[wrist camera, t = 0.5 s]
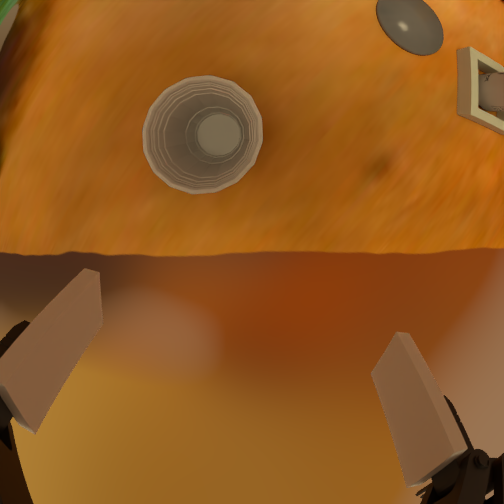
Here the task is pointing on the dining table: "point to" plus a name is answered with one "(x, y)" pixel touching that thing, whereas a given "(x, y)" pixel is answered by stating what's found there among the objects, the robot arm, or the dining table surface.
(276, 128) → the dining table surface
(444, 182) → the dining table surface
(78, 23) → the dining table surface
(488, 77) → the energy drink can
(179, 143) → the plastic cup
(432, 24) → the coaster
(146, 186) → the dining table surface
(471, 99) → the frame
